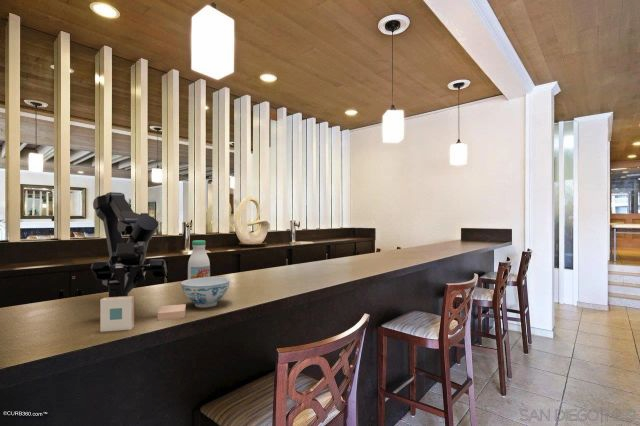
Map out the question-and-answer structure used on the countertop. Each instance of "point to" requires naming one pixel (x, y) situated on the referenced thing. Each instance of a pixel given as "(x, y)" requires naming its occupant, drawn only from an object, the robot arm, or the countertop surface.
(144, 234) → the robot arm
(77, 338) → the countertop surface
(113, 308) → the tile
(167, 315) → the finished tile
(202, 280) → the chinaware
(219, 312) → the countertop surface
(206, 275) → the milk bottle
